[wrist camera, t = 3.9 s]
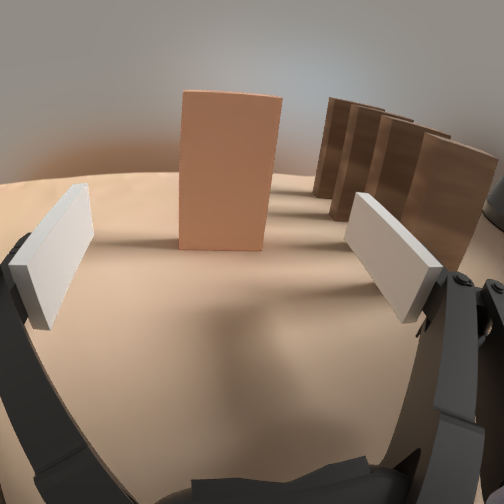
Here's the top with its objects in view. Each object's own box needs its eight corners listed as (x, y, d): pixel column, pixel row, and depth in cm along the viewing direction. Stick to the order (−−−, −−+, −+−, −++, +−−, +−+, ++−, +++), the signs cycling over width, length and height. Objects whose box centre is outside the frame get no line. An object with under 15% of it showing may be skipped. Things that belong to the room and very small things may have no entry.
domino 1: (180, 238, 24) (184, 89, 18) (258, 239, 25) (277, 96, 19) (179, 249, 23) (183, 91, 17) (261, 250, 24) (282, 98, 18)
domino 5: (378, 281, 22) (424, 132, 16) (436, 279, 23) (483, 151, 17) (388, 295, 20) (440, 139, 15) (446, 291, 22) (498, 159, 16)
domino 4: (350, 242, 26) (381, 114, 21) (405, 244, 27) (439, 130, 22) (358, 252, 25) (392, 118, 19) (414, 253, 26) (450, 135, 20)
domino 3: (329, 213, 31) (351, 104, 25) (379, 216, 32) (404, 116, 26) (334, 220, 30) (359, 106, 24) (386, 224, 31) (413, 120, 25)
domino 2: (312, 192, 36) (329, 97, 30) (358, 196, 37) (378, 107, 31) (316, 197, 34) (335, 98, 28) (364, 201, 35) (385, 109, 29)
